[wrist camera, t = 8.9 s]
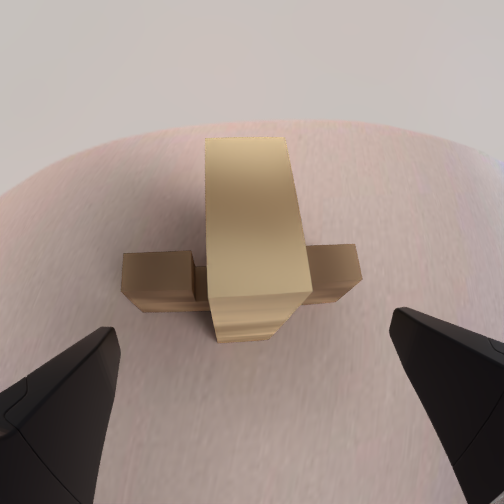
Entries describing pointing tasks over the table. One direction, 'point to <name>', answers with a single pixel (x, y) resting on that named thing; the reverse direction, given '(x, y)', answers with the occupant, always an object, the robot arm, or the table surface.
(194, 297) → the lower notched wooden block
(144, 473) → the table surface
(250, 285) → the tall wooden block
